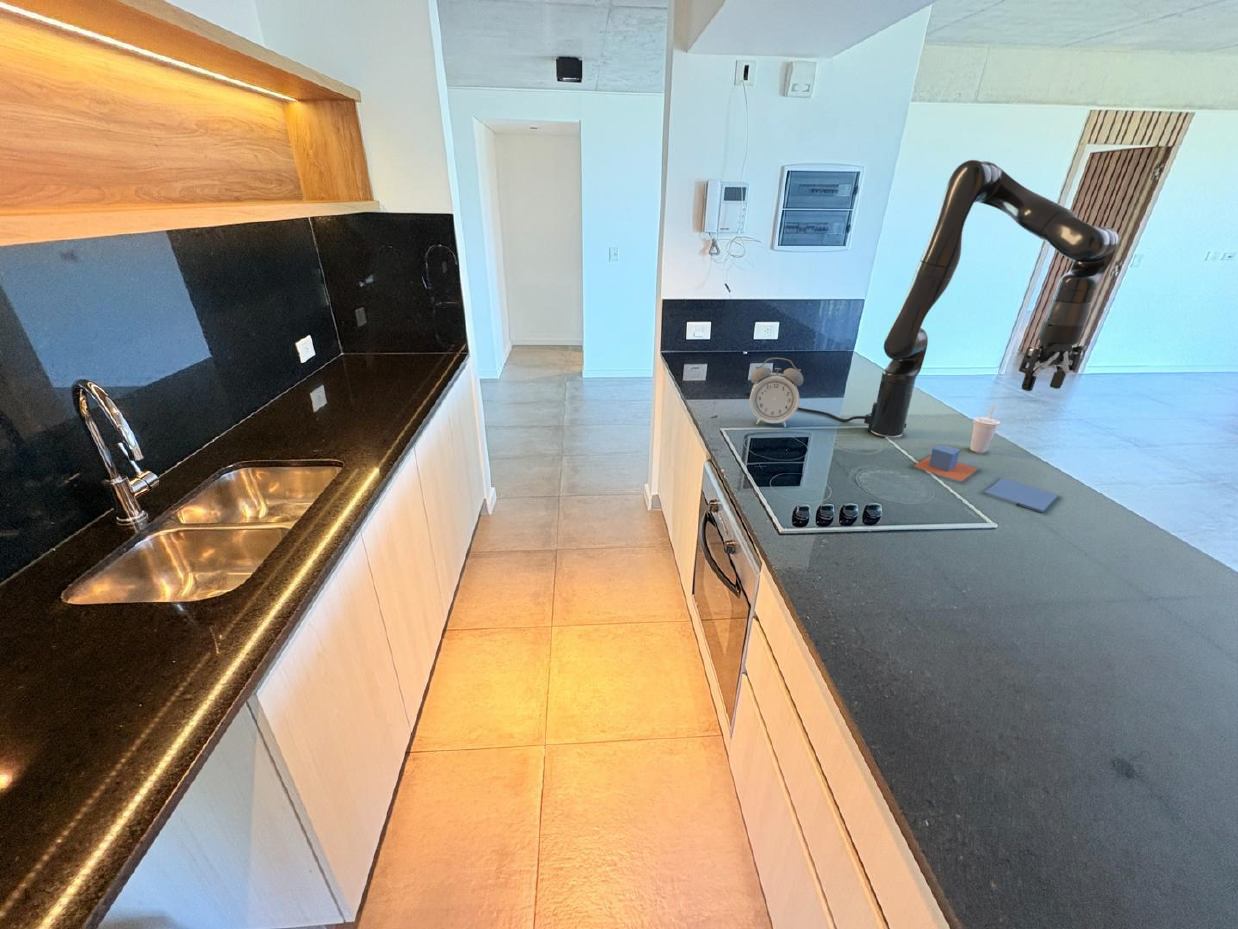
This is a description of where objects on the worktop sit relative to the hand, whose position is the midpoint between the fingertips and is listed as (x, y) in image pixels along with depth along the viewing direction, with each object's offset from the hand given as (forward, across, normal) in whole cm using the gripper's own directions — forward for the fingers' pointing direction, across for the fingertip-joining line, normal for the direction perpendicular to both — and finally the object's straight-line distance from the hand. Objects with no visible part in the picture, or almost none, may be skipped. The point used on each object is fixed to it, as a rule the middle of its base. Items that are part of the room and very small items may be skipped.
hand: (1040, 389), depth 129 cm
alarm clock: (+25, +42, -52) cm, 71 cm away
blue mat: (+24, +7, +10) cm, 27 cm away
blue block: (+23, +14, -8) cm, 28 cm away
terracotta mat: (+24, +13, -8) cm, 28 cm away
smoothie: (+24, -5, -15) cm, 29 cm away
